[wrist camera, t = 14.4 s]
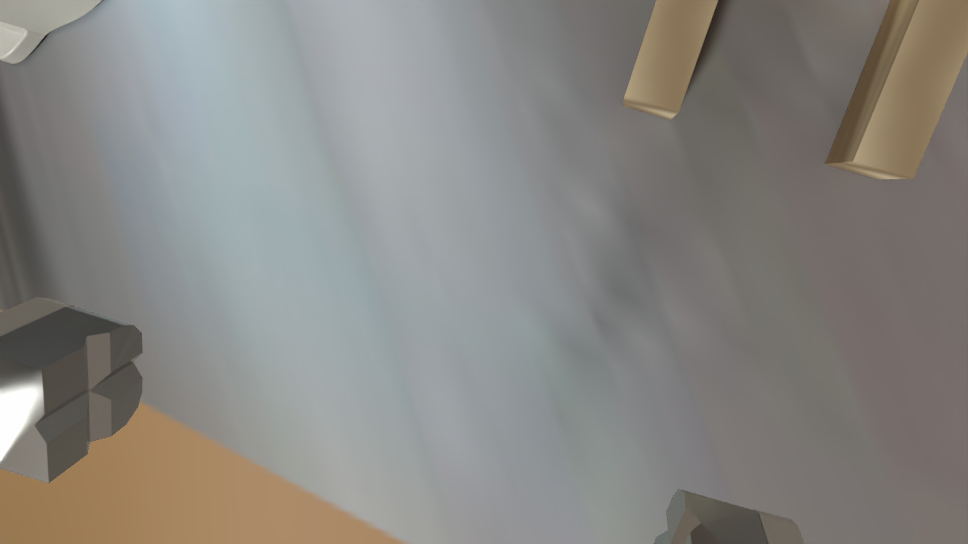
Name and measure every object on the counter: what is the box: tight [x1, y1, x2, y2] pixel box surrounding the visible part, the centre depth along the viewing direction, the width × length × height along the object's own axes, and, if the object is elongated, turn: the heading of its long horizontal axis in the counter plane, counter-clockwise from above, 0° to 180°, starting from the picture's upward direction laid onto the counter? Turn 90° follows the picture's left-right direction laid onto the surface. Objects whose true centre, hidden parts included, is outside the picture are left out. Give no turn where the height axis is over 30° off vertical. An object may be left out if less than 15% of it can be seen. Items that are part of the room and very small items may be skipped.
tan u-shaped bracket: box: [623, 0, 968, 179], centre depth 28 cm, size 13×10×4 cm
